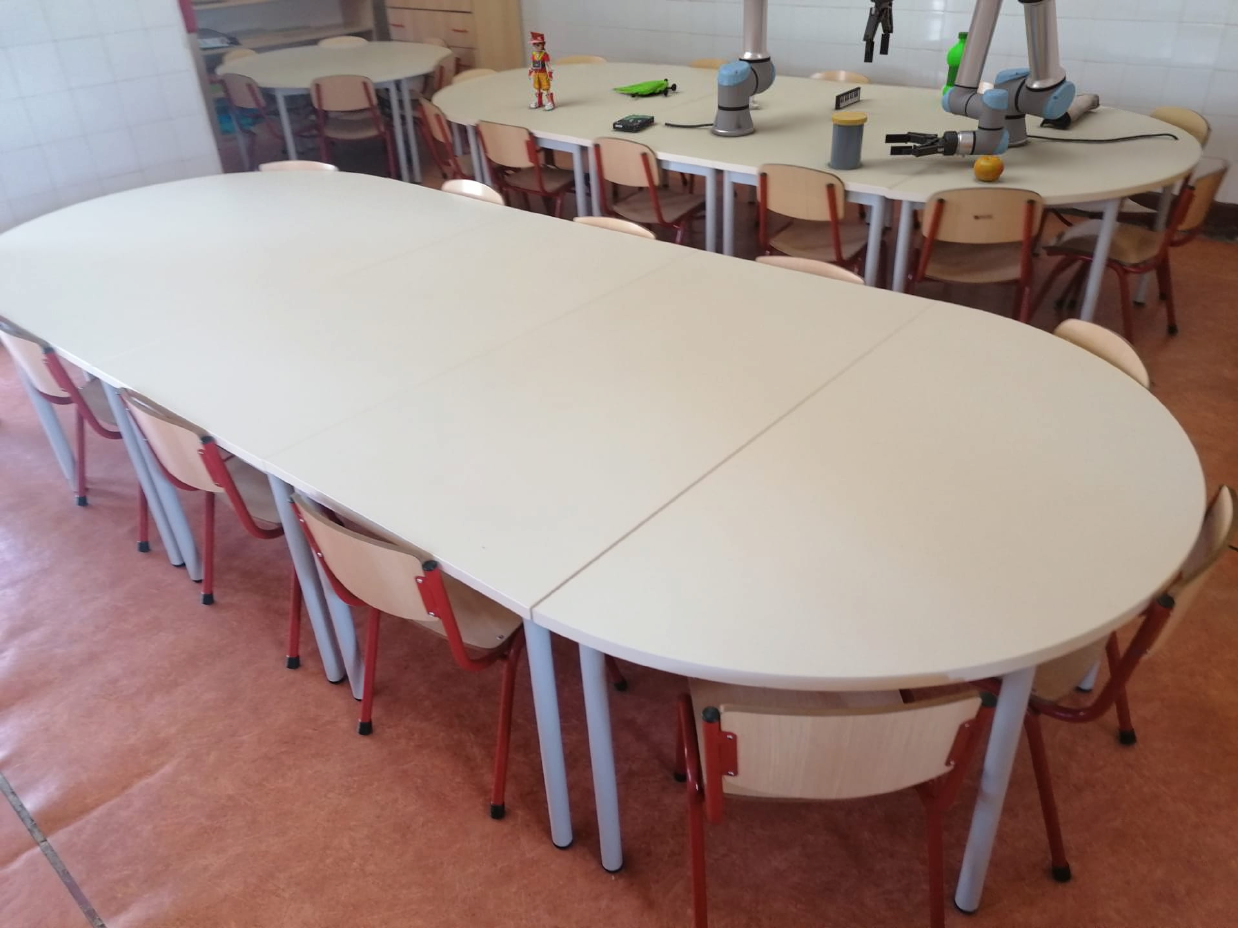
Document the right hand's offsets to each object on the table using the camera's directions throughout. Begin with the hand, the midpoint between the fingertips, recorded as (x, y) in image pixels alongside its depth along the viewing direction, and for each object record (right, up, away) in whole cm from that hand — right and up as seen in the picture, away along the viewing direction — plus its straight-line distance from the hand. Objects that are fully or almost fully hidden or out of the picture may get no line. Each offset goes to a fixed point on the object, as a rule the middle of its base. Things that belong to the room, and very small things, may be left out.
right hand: (887, 144), depth 289 cm
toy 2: (-77, +62, +108) cm, 146 cm away
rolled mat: (+78, +23, +37) cm, 89 cm away
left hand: (0, +34, +14) cm, 37 cm away
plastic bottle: (+46, +40, +65) cm, 89 cm away
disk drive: (-81, +28, +60) cm, 105 cm away
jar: (-12, -4, +7) cm, 15 cm away
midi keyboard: (+5, +41, +71) cm, 82 cm away
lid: (-13, +8, -2) cm, 15 cm away
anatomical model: (-36, +43, +78) cm, 96 cm away
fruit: (+27, -15, -13) cm, 33 cm away
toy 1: (-120, +49, +93) cm, 160 cm away
